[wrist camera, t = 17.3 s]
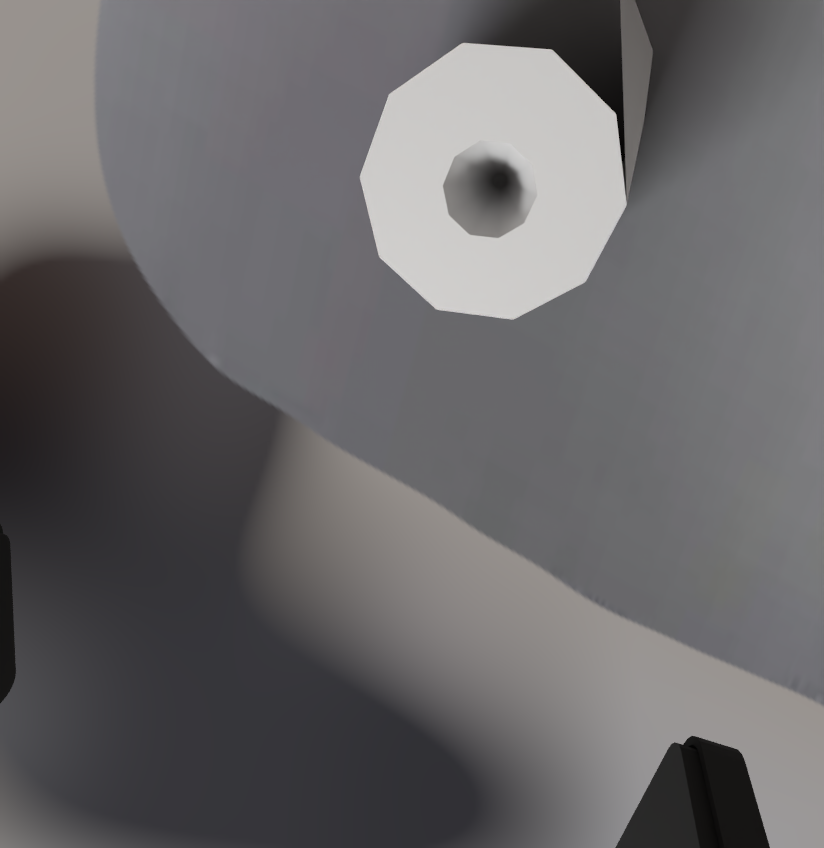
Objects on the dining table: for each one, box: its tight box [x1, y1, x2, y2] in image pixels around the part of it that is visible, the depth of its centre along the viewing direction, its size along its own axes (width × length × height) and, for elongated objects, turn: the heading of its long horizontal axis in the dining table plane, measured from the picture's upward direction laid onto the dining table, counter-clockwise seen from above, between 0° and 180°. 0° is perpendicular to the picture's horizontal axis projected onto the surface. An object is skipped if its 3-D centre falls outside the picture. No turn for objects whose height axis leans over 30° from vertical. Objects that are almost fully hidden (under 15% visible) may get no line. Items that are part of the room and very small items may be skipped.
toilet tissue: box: [360, 0, 653, 320], centre depth 28 cm, size 9×13×9 cm
